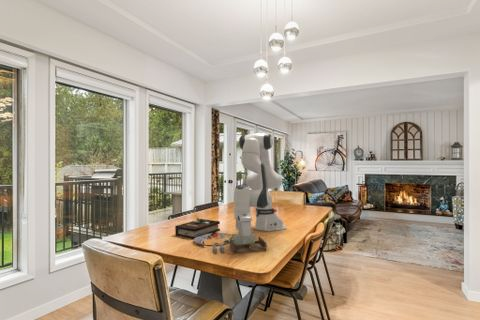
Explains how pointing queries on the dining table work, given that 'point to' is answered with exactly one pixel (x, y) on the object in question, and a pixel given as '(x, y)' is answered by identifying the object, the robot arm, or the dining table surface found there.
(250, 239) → the board
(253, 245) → the offcut upper
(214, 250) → the stand
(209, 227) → the decorative book
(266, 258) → the dining table surface
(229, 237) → the food plate
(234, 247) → the rack
